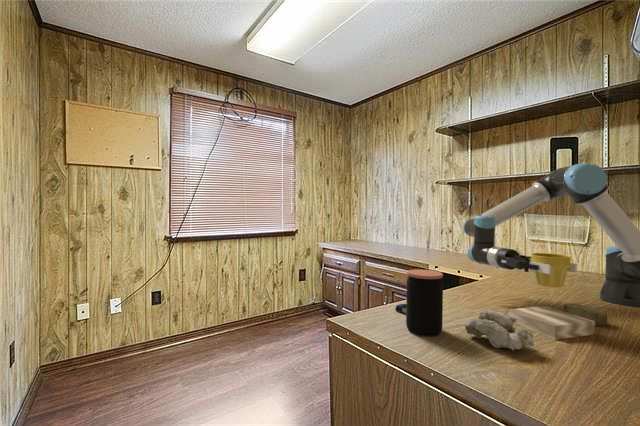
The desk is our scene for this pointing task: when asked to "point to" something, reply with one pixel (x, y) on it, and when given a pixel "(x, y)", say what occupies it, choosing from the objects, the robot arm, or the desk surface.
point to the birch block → (552, 322)
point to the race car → (401, 308)
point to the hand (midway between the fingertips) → (563, 268)
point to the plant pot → (552, 268)
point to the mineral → (499, 330)
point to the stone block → (587, 313)
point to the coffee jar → (424, 302)
